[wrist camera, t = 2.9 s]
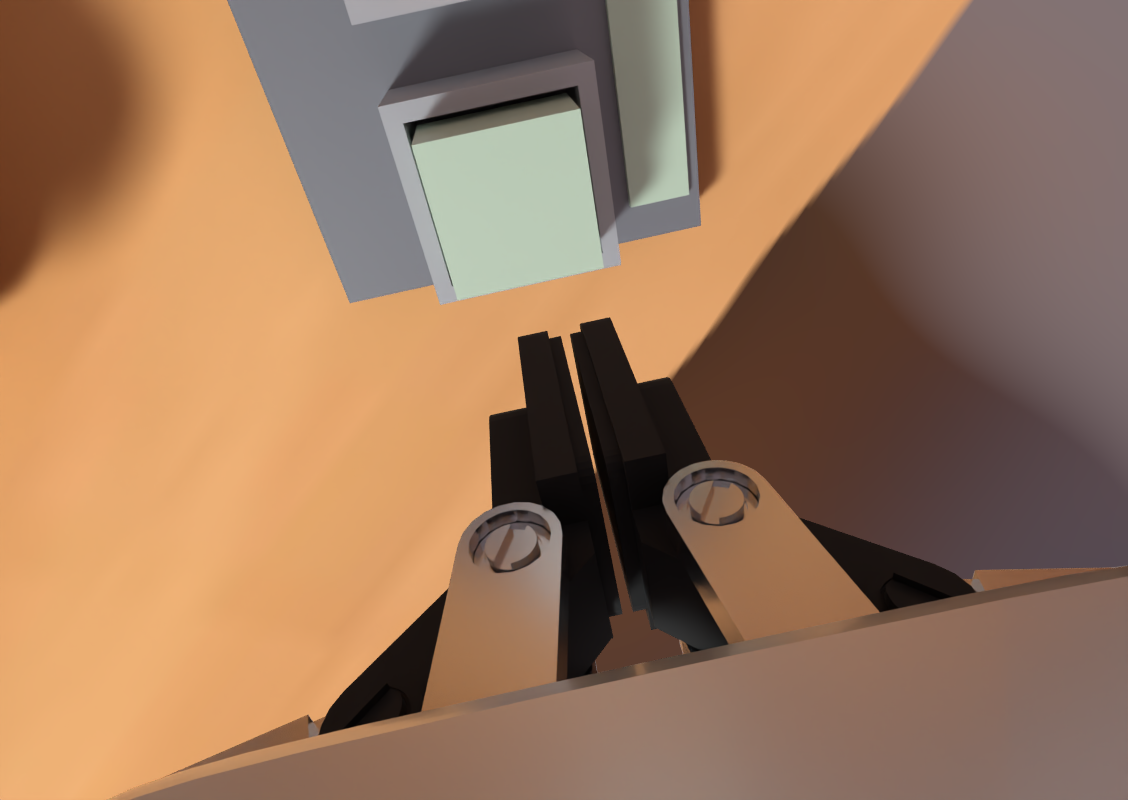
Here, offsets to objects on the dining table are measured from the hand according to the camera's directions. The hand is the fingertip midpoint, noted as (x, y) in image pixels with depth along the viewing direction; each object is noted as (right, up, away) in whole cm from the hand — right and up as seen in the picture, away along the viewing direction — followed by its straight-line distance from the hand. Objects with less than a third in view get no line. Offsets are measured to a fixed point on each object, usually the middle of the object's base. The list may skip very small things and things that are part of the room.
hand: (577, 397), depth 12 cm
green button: (-2, +7, +11) cm, 13 cm away
